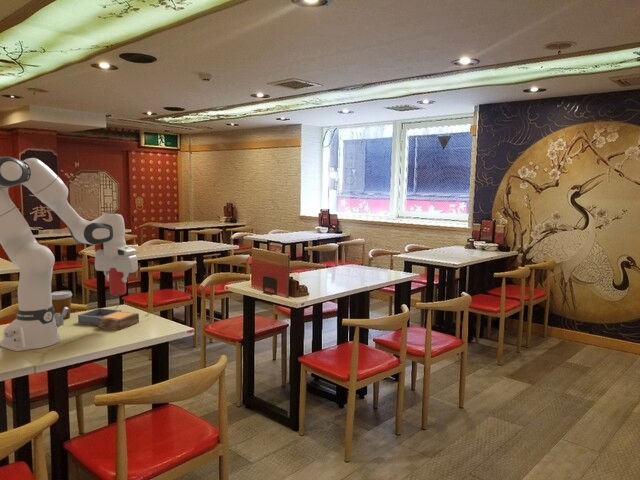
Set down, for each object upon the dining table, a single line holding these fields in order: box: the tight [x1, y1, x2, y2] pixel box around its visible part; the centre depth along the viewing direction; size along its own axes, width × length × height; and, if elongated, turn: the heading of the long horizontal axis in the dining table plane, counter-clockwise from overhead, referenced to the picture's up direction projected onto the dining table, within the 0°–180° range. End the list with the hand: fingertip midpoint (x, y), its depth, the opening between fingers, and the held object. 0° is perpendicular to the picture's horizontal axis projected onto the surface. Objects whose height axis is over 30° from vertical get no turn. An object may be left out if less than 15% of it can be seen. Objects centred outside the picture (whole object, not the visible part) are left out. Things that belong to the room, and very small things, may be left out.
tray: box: [77, 307, 122, 326], centre depth 217 cm, size 13×13×4 cm
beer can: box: [108, 268, 127, 296], centre depth 208 cm, size 7×7×12 cm
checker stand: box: [97, 311, 140, 331], centre depth 210 cm, size 12×12×4 cm
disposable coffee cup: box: [51, 290, 73, 321], centre depth 219 cm, size 10×10×12 cm
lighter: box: [53, 307, 69, 327], centre depth 209 cm, size 7×2×8 cm, turn 83°
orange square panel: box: [103, 311, 134, 320], centre depth 209 cm, size 9×9×1 cm
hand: (116, 281), depth 208 cm, fingers closed on beer can, 6 cm apart
